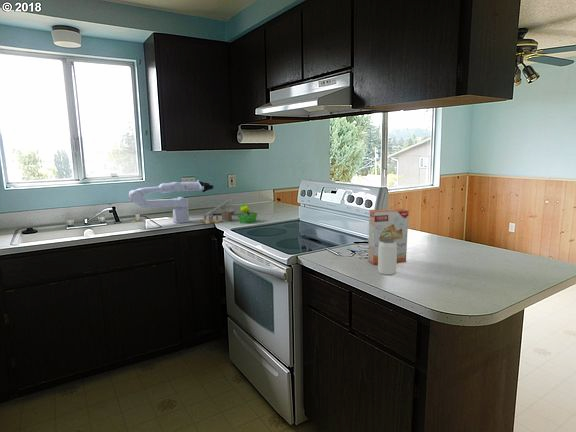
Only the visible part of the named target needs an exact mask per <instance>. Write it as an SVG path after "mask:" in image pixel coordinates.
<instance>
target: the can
mask: <svg viewBox="0 0 576 432" xmlns="http://www.w3.org/2000/svg"><path fill="white" fill-rule="evenodd" d="M377 269H378V270H377V272H378V273H379V274H380V275H384V276H393V275H395V274H396V273H397V244H396V240H393V239H381V240H380V243H379V247H378V264H377Z"/></svg>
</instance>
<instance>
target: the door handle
mask: <svg viewBox="0 0 576 432" xmlns="http://www.w3.org/2000/svg"><path fill="white" fill-rule="evenodd" d="M231 202H233V198H229V199H228V200H225V201H224V202H223V203H221V204H220V205H218V206H216V207H214V208H212V209H211V210H210V211H208V212H206V213H205V215H206V216H211V214H214V213H215V212H216V211H218V210H220V209H222V210H227V211H230V212H235V209H234V207H231V208H229V209H227V208H226V206H227V205H228V204H229V203H231Z"/></svg>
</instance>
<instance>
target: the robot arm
mask: <svg viewBox="0 0 576 432" xmlns="http://www.w3.org/2000/svg"><path fill="white" fill-rule="evenodd" d="M213 189H214V185H212V184H210V183H208V182H204V181H200V180H199V179H197V180H196V181H181V182H179V181H171V182H168V183H167V182H166V183H165V182H162V183H160V184H159V185H158V186H149V187H147V186H146V187H140V188H136V189H130V191H129V192H128V195H127V196H128V198H129V200H130V201H131V202H133V203H134V204H136V206H139V207H141V208H143V209H151V208H152V209H153V208H167V207H175V208H173V209H172V219H173V221H172V222H173V223H175V224H183V223H189V222H192V220H191V219H190V215H189V213H190V212H189V205H190V203H189V199H187V198H186V197H183V196H178V197H175V198H164V199H163V198H162V199H160V198H159V199H145V198H144V197H145V196H146V195H147V194H151V193H157V192H159V193H161V194H166V193H172V192H177V193H179V192H196V191H197V192H201V191H202V193H205V192H207V191H210V190H213Z"/></svg>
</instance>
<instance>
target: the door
mask: <svg viewBox="0 0 576 432" xmlns="http://www.w3.org/2000/svg"><path fill="white" fill-rule="evenodd" d="M227 210H228V209H227ZM227 210H223V209H222V210H221V220H222V221H226V222H233V221H232V220H233V219H232V218H233V216H232V212H233V211H232V212H230V211H227Z"/></svg>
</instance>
